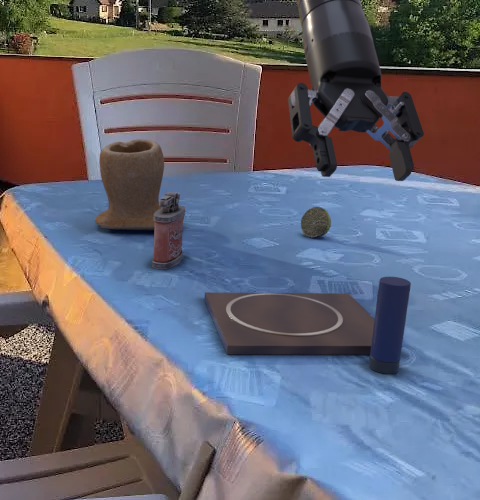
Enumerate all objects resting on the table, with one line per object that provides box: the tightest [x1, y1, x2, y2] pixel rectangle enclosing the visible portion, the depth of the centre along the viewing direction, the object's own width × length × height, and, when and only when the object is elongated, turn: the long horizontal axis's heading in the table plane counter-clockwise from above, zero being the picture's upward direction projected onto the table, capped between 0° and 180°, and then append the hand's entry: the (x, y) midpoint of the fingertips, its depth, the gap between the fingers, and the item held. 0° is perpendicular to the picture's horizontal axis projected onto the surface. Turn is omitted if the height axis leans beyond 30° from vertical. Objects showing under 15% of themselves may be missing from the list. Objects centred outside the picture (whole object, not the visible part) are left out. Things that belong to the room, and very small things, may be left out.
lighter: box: [151, 191, 186, 270], centre depth 101 cm, size 8×3×10 cm, turn 159°
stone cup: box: [95, 138, 186, 231], centre depth 117 cm, size 15×12×15 cm
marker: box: [368, 276, 412, 375], centre depth 68 cm, size 3×3×9 cm
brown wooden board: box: [203, 291, 375, 356], centre depth 80 cm, size 18×16×1 cm
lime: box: [300, 206, 332, 238], centre depth 117 cm, size 4×5×5 cm
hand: (367, 175), depth 74 cm, fingers open, 8 cm apart
